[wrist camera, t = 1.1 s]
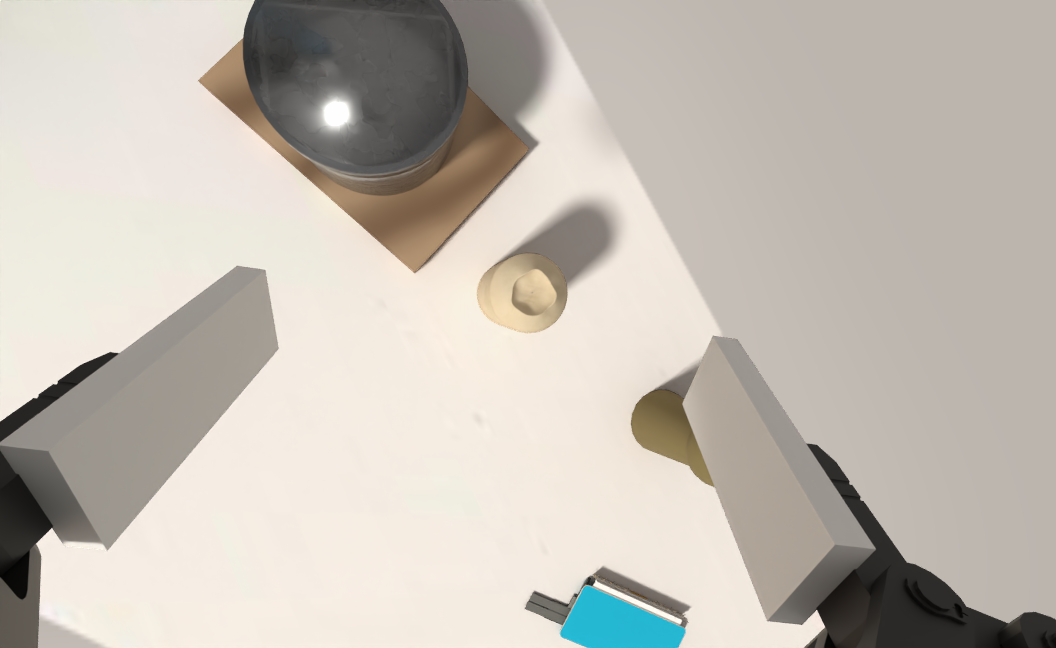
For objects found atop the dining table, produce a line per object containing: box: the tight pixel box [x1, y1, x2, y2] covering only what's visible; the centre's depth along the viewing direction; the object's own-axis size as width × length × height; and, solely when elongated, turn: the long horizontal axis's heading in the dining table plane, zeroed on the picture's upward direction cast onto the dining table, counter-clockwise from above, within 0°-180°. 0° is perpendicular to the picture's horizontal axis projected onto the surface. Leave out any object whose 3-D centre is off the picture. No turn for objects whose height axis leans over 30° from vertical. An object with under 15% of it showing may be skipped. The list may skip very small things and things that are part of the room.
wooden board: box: [198, 39, 529, 273], centre depth 36 cm, size 20×14×2 cm
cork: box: [631, 390, 715, 487], centre depth 38 cm, size 6×6×11 cm
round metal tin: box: [243, 0, 468, 196], centre depth 31 cm, size 13×13×8 cm
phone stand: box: [525, 574, 687, 648], centre depth 43 cm, size 20×12×2 cm, turn 60°
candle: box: [477, 253, 567, 333], centre depth 35 cm, size 6×6×10 cm
